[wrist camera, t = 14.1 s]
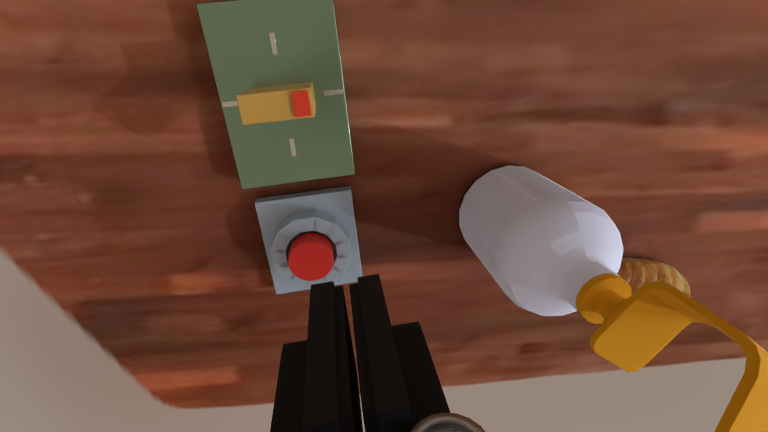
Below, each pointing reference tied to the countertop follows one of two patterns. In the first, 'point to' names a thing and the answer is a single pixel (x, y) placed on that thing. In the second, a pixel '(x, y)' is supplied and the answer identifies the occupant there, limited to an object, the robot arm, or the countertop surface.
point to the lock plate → (280, 67)
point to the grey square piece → (310, 215)
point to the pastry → (651, 274)
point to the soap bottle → (591, 279)
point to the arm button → (311, 257)
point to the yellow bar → (277, 103)
